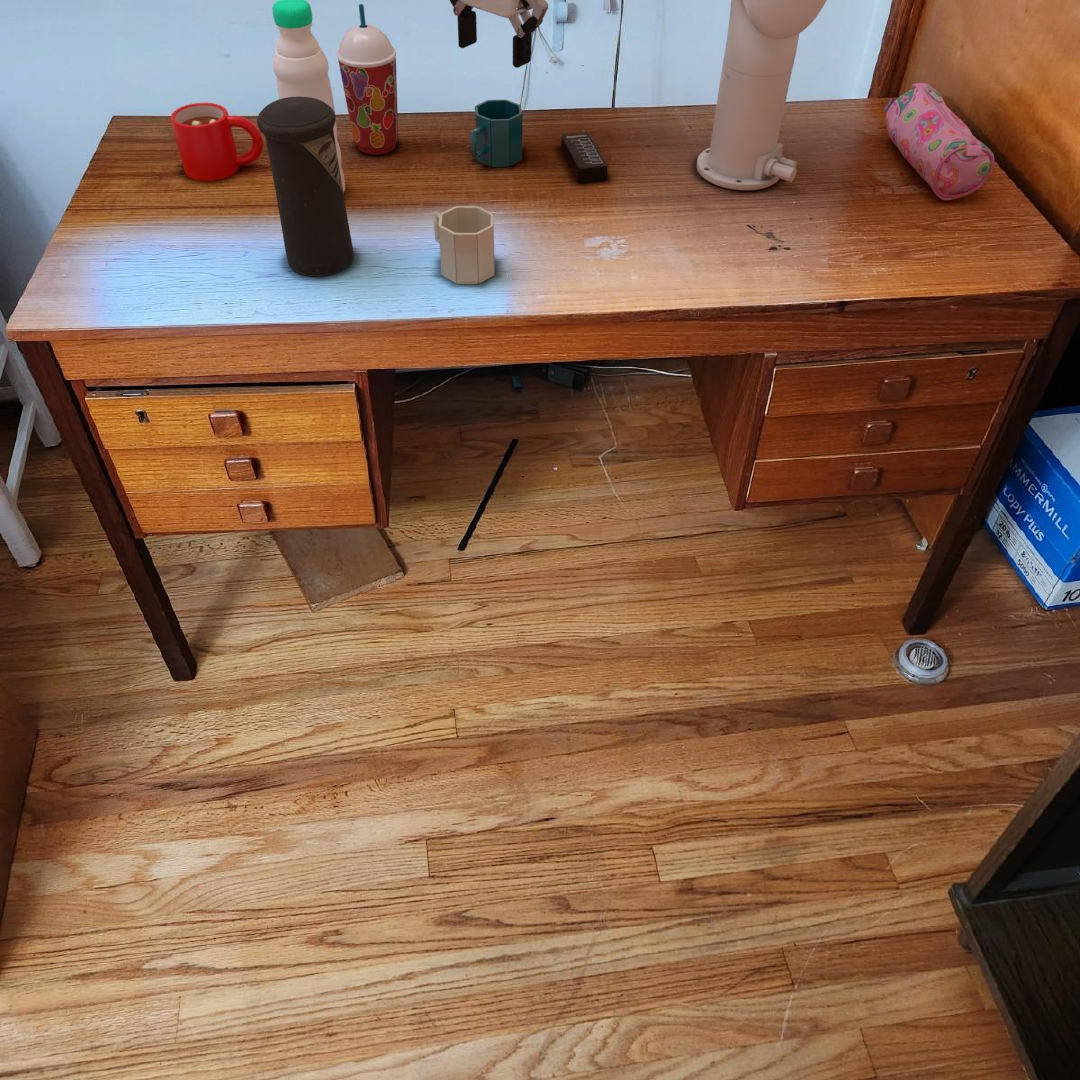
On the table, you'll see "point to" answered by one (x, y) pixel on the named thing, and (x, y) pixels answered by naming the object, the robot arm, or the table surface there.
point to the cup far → (497, 133)
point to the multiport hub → (584, 157)
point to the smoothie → (370, 87)
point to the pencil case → (937, 143)
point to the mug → (211, 141)
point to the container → (307, 184)
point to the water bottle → (301, 59)
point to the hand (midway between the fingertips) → (494, 54)
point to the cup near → (465, 244)
